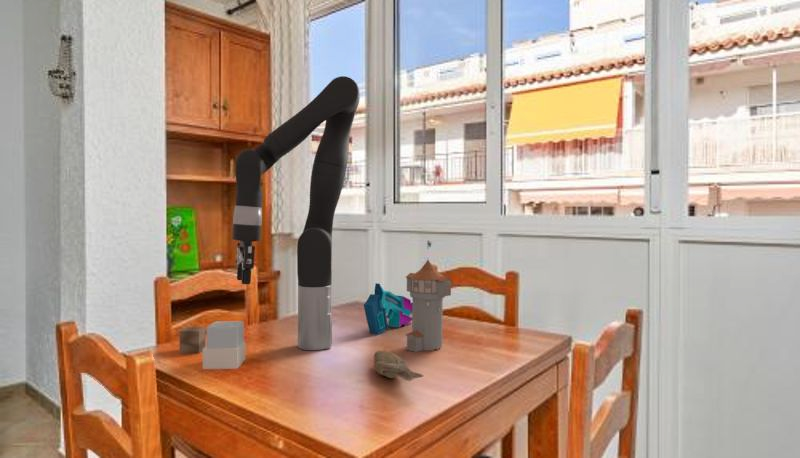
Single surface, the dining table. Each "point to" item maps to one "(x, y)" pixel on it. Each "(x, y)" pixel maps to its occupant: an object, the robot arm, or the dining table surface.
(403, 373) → the sculpture
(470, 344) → the dining table surface
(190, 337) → the walnut block
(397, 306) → the toy gun
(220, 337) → the tower top
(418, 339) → the model building
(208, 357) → the tower base
